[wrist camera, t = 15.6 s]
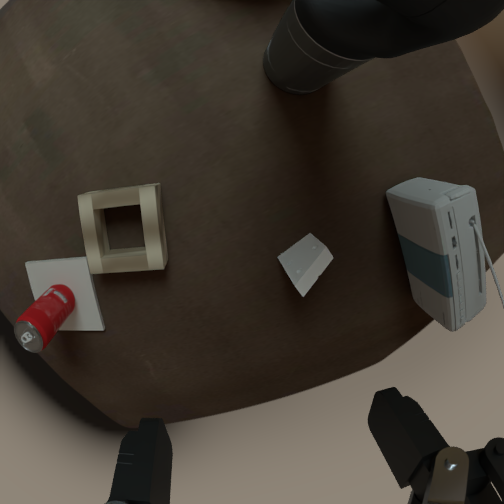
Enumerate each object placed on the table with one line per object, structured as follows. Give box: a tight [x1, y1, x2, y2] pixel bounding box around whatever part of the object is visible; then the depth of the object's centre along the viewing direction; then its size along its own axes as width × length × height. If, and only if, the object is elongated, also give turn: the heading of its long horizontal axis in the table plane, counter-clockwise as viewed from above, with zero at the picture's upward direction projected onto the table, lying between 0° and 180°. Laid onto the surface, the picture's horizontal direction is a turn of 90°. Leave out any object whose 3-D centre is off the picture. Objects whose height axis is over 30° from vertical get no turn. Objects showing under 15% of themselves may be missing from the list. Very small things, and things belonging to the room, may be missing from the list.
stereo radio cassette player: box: [386, 177, 504, 331], centre depth 36 cm, size 21×8×20 cm, turn 26°
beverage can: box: [14, 284, 75, 353], centre depth 35 cm, size 5×5×12 cm
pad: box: [25, 257, 105, 331], centre depth 41 cm, size 12×12×1 cm
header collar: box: [78, 183, 168, 274], centre depth 38 cm, size 10×10×4 cm
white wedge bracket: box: [277, 233, 333, 297], centre depth 40 cm, size 4×10×9 cm, turn 127°
